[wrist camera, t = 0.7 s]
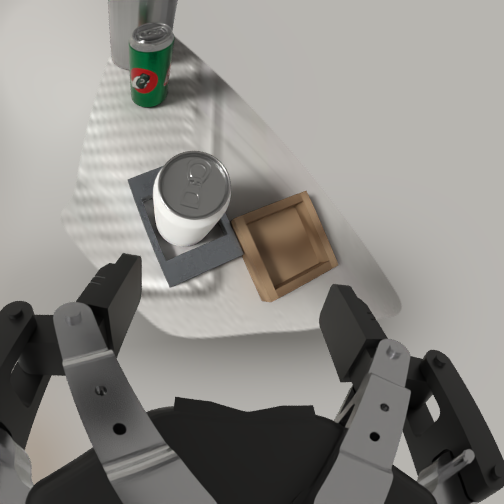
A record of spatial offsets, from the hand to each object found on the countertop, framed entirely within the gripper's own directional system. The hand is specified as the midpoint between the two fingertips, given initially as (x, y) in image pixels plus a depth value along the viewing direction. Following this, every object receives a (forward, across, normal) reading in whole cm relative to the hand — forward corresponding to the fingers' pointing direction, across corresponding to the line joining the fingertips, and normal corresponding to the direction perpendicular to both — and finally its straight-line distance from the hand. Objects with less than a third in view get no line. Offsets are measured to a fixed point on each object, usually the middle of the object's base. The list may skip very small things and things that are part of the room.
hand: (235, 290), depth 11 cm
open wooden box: (+22, -7, +7) cm, 24 cm away
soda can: (+29, +14, -9) cm, 34 cm away
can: (+21, +5, +5) cm, 22 cm away
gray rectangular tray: (+21, +5, +5) cm, 22 cm away
